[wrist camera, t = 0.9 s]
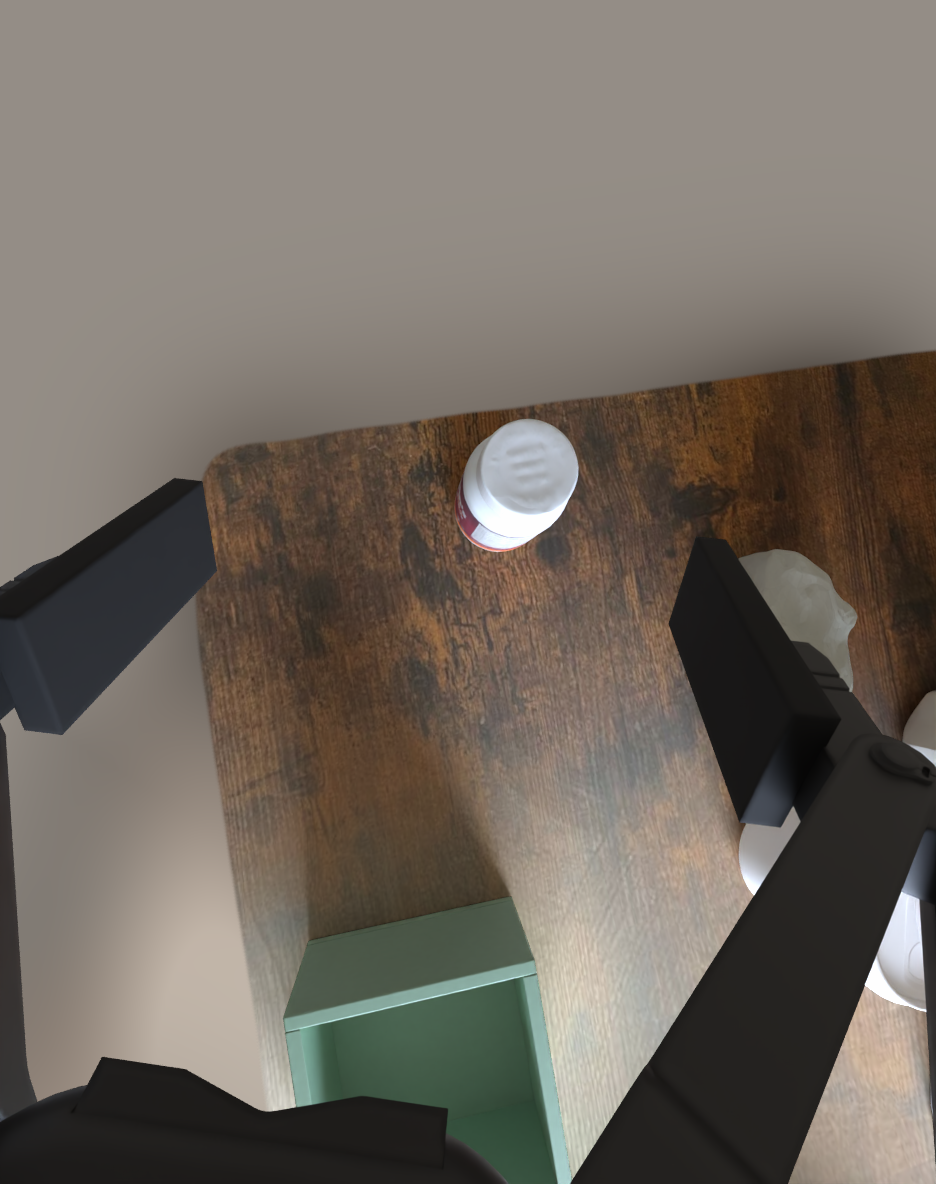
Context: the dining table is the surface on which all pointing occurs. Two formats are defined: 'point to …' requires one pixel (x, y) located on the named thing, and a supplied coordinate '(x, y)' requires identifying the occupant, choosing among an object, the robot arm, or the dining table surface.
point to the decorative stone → (805, 604)
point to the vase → (923, 727)
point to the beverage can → (902, 944)
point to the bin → (435, 1031)
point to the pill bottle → (515, 485)
